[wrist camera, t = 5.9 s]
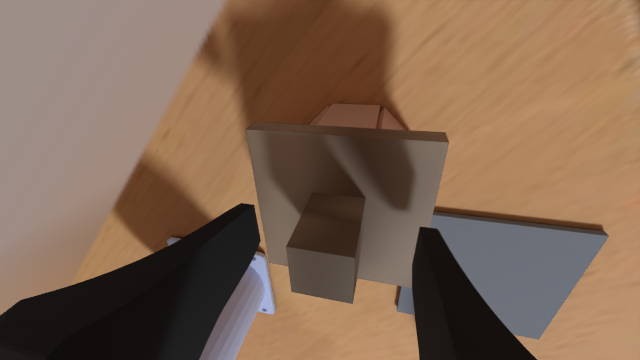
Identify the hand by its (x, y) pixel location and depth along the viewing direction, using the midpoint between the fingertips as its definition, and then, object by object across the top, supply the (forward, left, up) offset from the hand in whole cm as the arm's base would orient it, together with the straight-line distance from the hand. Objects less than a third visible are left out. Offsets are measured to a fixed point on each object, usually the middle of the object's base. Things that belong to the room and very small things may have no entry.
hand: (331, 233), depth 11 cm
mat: (+9, -8, -7) cm, 14 cm away
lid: (0, 0, -3) cm, 3 cm away
